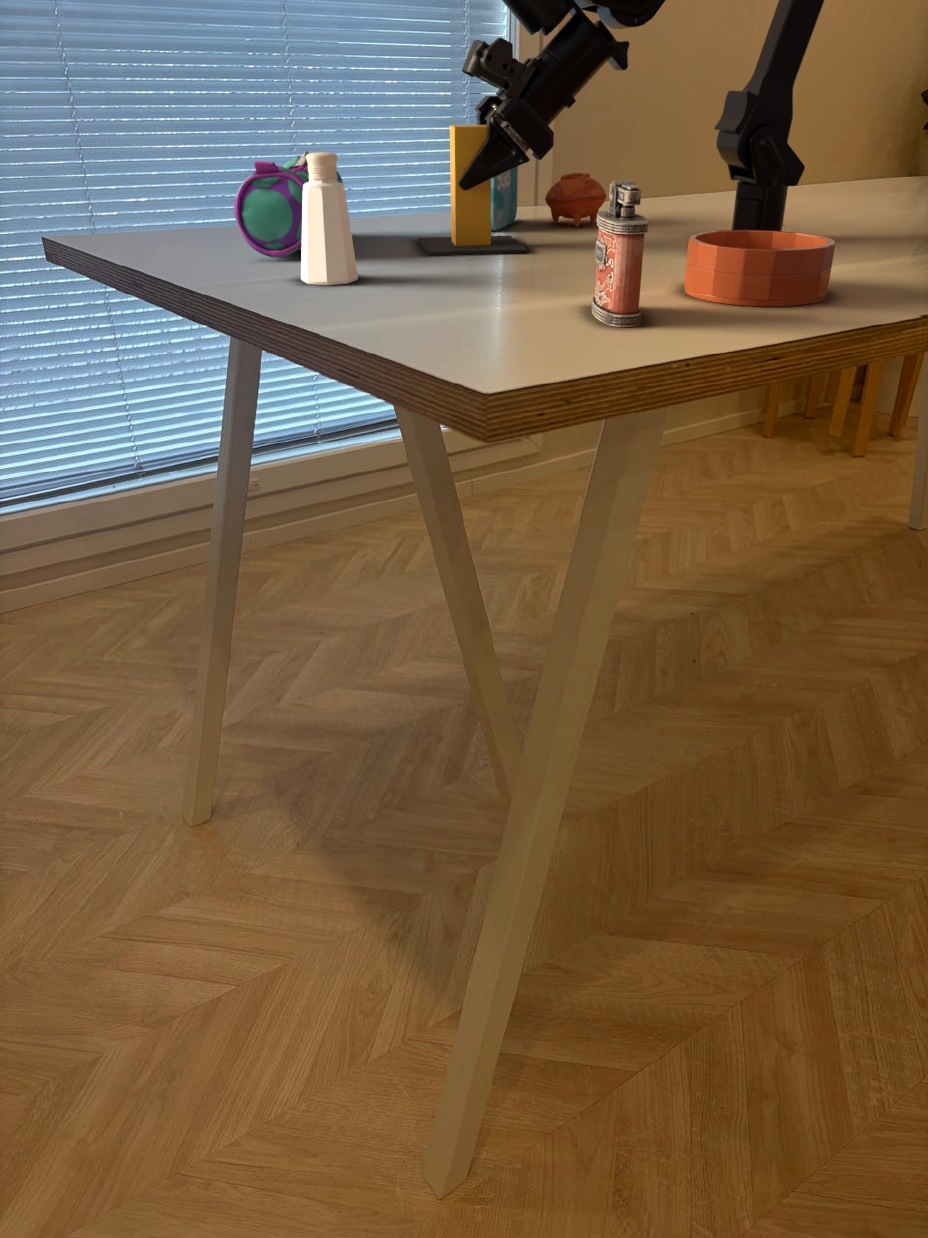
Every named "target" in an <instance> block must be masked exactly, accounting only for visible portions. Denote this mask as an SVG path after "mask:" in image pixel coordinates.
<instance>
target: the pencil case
mask: <svg viewBox="0 0 928 1238" xmlns="http://www.w3.org/2000/svg"><path fill="white" fill-rule="evenodd" d="M309 153H310V152H309V151H308V150H307V149H306V150H305V151H304V152H303V153H302V155H299V154H298V155H297V156H295V157H293V158H292V159H290V160H288V161H287V162H286V163H285V164H284V165H283V166H279V165H277V164H276V162H274V161H264V160H263V161H260V160H255V161H254V162H253V165H254V168H255V170H254V171H253V172H252V173H251V174H249V175H248V176H247V177H246V178H245V179H244V180H243V181H242V182H241V184H240V185H239V187H238V190H237V193H236V195H235V199H234V205H233V208H234V209H233V210H234V219H235V224H236V227H237V229H238V231H239V234H240V235H241V237H242V238H243V240H244V242H245V243H246V244H247V245H248V246H249V247H250V248H251V249H253V250H254V251H256V252H257V253H259V254H260V255H264V256H266V257H269V258H272V259H273V258H274V259H280V258H285V257H287V256H289V255H292V254H294V253H296V252H299V251H302V204H303V185H304V184H305V183H307V182H309V172H308V171H309V170H308V162H307V159H306V155H307V154H309ZM336 173H337V182H340V183H342V184H344V182H343V178H342V175H341V174H340V172H339V171H338V170H337V172H336Z"/></svg>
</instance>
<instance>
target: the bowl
mask: <svg viewBox="0 0 928 1238" xmlns="http://www.w3.org/2000/svg"><path fill="white" fill-rule="evenodd" d="M835 249H836V242H835V239H831V238H828V237H826V236H822V235H817V234H812V233H805V232H796V231H786V230H785V231H783V230H782V231H769V230H732V229H728V230H727V229H725V230H724V229H723V230H713V231H704V232H703V231H702V232H699V233H698V232H697V233H696V234H691V235H690V236H689V238H688V244H687V252H686V253H687V254H686V264H685V265H686V266H685V274H684V283H683V284H684V285H683V286H684V292H685V294H687V295H688V296H690V297H693V298H695V299H698V300H703V301H707V302H713V303H717V304H725V305H733V306H745V307H746V306H747V307H793V306H802V305H810V304H816V303H818V302H822V301H823V300H825V298H826V297H827V293H828V290H829V284H830V279H831V273H832V267H833V260H834V255H835Z"/></svg>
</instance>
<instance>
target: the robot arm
mask: <svg viewBox="0 0 928 1238" xmlns="http://www.w3.org/2000/svg"><path fill="white" fill-rule="evenodd" d="M501 1H502V2H503V4H504V5H505V6H506V7H507V8H508V10H509V11H510V12H511V13H512V14H513V16H514V17H515V19H516V20H518V22H519V23H520V24H521V25H522V27H523V28H524V29H525V31H527V33H528V34H529V36H533V35H535V34H536V33H539V32H541V34H542V35H543V36H544V37H547V36H548V35H550V34H551V33H552V32H553V31H554V30H555V29H556V28H557V27H558V26H559V25H560V24H561V22H563V21H564V19H565V18H566V16H567V15H568V14H570V16H571V17H569V19H568V20H567V21H566V22H565V24H563V26H562V27H561V28H560V29H559V30H558V31H557V33H556V34H555V35H554V36H552V38H551V39H550V40H549V42H547V44H546V45H545V46H543V47H544V48H542V50H541V51H540V52H539V53H538V54H537V55H536V56H535V57H531V58H530V57H528V58H526V59H525V60H524V61H523V62H521V61H519V60H518V59H517V58H514V45H513V43H512V42H510V41H508V40H507V39H505V38H503V37H497V38H496V39H495V40H494V41H492V42H491V43H490V44H488V43H487V42H486V41H484V40H481V39H475V40H472V44H471V46H470V49H469V51H468V54H467V56H466V57H465V58H466V59H465V61H464V64H463V66H462V68H461V72H462V73H463V74H465V75H467V76H469V77H471V78H474V77H476V78H477V79H479V80H481V81H482V82H485V83H486V84H488V85H490V86H492V87H493V88H495V89H498V90H497V91H496V92H495V95H485V96H484V97H483V98H482V99H481V100H480V102H478V103H477V105H476V106H475V107H474V110H475V111H476V115H475V120H476V123H477V125H487V133H486V139H485V141H484V143H483V144H482V146H481V147H480V149H479V150H478V152H477V154H476V155H475V157H474V158H473V160H472V161H471V163H470V164H469V166H468V168H467V169H466V171H465V172H464V174H463V176H462V177H461V179H460V180H459V182H458V184H459V186H460V187H461V188H462V189H463V190H465V191H466V190H468V189H470V188H472V187H474V186H476V185H478V184H481V183H483V182H485V181H487V180H489V179H491V178H493V177H495V176H498V175H500V174H502V173H504V172H506V171H508V170H511V169H513V168H515V167H517V166H518V167H519V166H522V165H524V164H528V163H529V162H530V161H531V158H529V156H528V154H527V152H529V150H531V152H532V154H531V155H532V156H533V158H534V159H536V160H538V161H542V159H543V158H544V157H545V156H546V155H548V153H549V152H550V151H551V150H552V149H553V147H554V144H555V143H554V140H555V139H554V137H555V132H554V131H553V130H552V128H551V127H550V125H551V124H552V123H553V122H554V121H555V119H556V118H557V117H558V116H559V115H560V114H562V112H563V111H564V110H565V109H570V108H571V107H572V106H573V105H574V104H575V103H576V102H577V100H576V96H577V95H578V94H579V93H580V92H581V91H582V89H583V88H585V86H586V85H587V84H588V83H589V82H590V81H591V80H592V79H593V78H594V76H595V75H596V74H597V73H598V72H599V71H600V70H601V69H602V68H603V66H604V65H605V64H606V63H608V64H609V65H610V66H611V68H612V69H613V70H614V71H626V70H627V69H628V67H629V56H628V54H629V53H628V52H629V47H630V42H629V40H623V41H618V40H617V39H616V38H615V36H614V35H613V33H612V32H611V31H610V29H615V30H627V29H632V28H638V27H641V26H643V25H646V24H647V23H648V22H650V21H651V20H652V19H654V17H655V16H656V14H657V13H658V12H659V11H660V9H661V8H662V6H663V5H664V4H665V2H666V1H667V0H501ZM824 3H825V0H778V2H777V4H776V8H775V10H774V13H773V16H772V20H771V22H770V25H769V28H768V31H767V33H766V37H765V39H764V43H763V45H762V48H761V51H760V53H759V55H758V56H759V57H758V60H757V62H756V65H755V68H754V71H753V74H752V76H751V78H750V79H749V80H748V82H747V84H746V85H745V86H744V87H743V89H742V90H728V91H727V94H726V96H725V100H724V105H723V110H722V114H721V115H720V118H719V120H718V121H717V123H716V124H715V125H714V129H713V130H715V131H718V133H717V137H716V149H717V151H718V153H719V156H720V158H721V159H722V160H723V162H725V164H727V169H728V174H729V178H730V180H731V181H736V191H735V199H734V207H733V215H732V222H731V223H732V226H731V230H769V231H783V226H784V218H785V211H786V204H787V199H788V189H789V187H796V186H797V185H798V184H799V183H800V181H801V178H802V176H803V173H804V171H805V168H806V167H805V164H804V163H803V161H802V160H801V158H799V156H798V155H797V154H796V152H795V151H794V150H793V148H792V147H791V146H790V144H789V143H788V142H789V137H790V132H791V127H792V122H793V118H794V86H795V82H796V80H797V77H798V74H799V71H800V69H801V66H802V63H803V61H804V57H805V55H806V53H807V49H808V47H809V44H810V42H811V39H812V37H813V36H812V35H813V34H814V30H815V27H816V25H817V22H818V19H819V17H820V14H821V12H822V8H823V5H824ZM584 11H585V12H589V13H592V14H597V15H598V17H599V19H598V20H596V21H595V22H593V21H592V20H591V19H590V18H589V17H588V16H587V15H586V14H585V12H584ZM608 27H609V28H610V29H609V28H608Z"/></svg>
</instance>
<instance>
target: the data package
mask: <svg viewBox="0 0 928 1238" xmlns="http://www.w3.org/2000/svg"><path fill="white" fill-rule="evenodd" d="M464 125H477V122H473V123H466V124H464ZM518 167H519V166H517V167H515V168H513V169H511V170H508V171H506V172H504V173H502V174H500V175H498V176H495V177H493V178H491V232H498V231H499V230H501V229H503V228H505V227H506V226H508V225H510V224H512V223H514V222H515V221H516V219H517V212H518V173H519V172H518V171H519V170H518V169H519V168H518Z"/></svg>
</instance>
